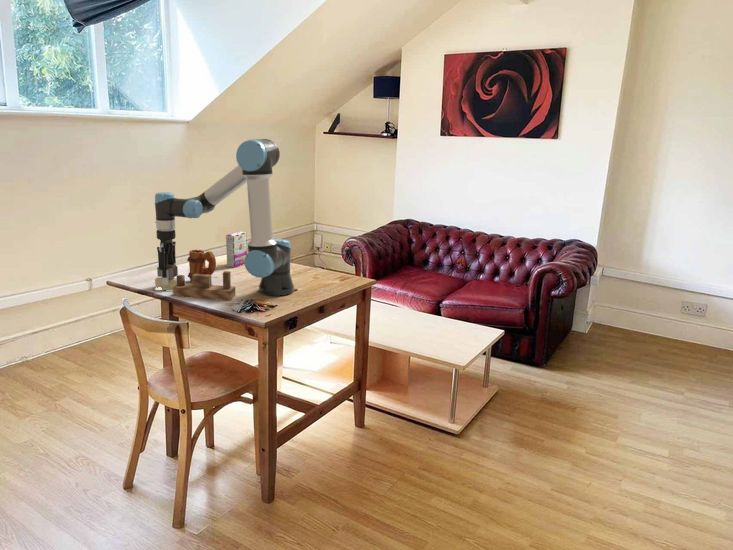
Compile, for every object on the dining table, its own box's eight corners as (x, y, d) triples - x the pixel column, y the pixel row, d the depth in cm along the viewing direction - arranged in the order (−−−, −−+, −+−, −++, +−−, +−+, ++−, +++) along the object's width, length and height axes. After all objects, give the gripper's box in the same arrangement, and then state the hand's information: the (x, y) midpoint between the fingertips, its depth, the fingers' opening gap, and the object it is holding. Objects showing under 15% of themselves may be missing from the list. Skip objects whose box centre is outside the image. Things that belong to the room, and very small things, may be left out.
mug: (183, 281, 255) (182, 249, 251) (196, 278, 262) (195, 246, 258) (208, 287, 248) (207, 254, 244) (221, 283, 255) (220, 250, 251)
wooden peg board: (235, 295, 239) (235, 270, 236) (230, 300, 232) (229, 274, 229) (179, 291, 240) (179, 266, 237) (173, 296, 233) (172, 270, 231)
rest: (184, 285, 250) (183, 276, 248) (174, 291, 240) (174, 282, 239) (162, 283, 250) (161, 275, 249) (151, 290, 241) (151, 281, 240)
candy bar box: (239, 262, 294) (238, 231, 290) (247, 263, 292) (247, 232, 288) (226, 266, 284) (225, 234, 280) (234, 268, 282) (234, 235, 278)
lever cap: (177, 274, 246) (177, 264, 244) (173, 277, 241) (173, 266, 240) (162, 273, 246) (161, 263, 245) (157, 276, 242) (157, 265, 241)
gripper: (165, 225, 247) (168, 277, 253) (147, 232, 230) (150, 287, 236) (182, 226, 247) (184, 278, 253) (165, 233, 230) (168, 289, 236)
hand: (168, 282), depth 244 cm, fingers closed on lever cap, 4 cm apart
